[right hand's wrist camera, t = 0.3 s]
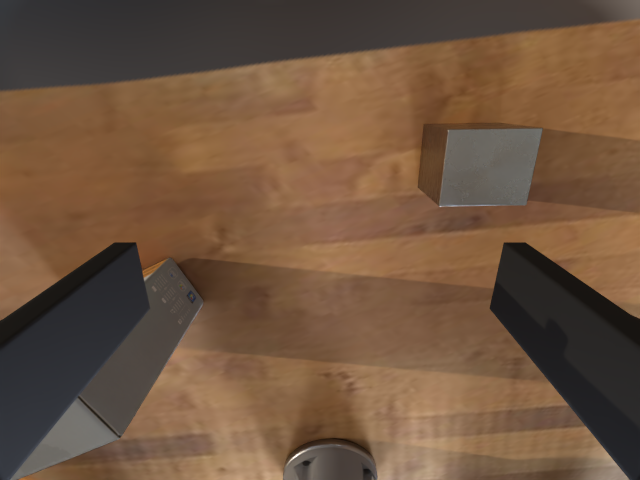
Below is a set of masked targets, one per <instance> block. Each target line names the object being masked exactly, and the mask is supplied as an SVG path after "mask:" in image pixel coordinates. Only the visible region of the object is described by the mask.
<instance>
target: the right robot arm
mask: <svg viewBox="0 0 640 480" xmlns="http://www.w3.org/2000/svg"><path fill="white" fill-rule="evenodd" d="M149 309H150V305H149V300H148V296H147V291H146V286H145V282H144V277H143V272H142V268H141V263H140V259H139V254H138V249H137V245H136V243H113V244H112V245H110V246H109V247H107V248H106V249H105V250H103V251H102V252H100V253H99V254H97V255H96V256H94V257H93V258H91V259H90V260H89V261H87V262H86V263H84V264H83V265H81V266H80V267H78V268H77V269H75V270H74V271H73V272H71V273H70V274H68V275H67V276H65V277H64V278H62V279H61V280H59V281H58V282H57V283H55V284H54V285H52V286H51V287H49V288H48V289H46V290H45V291H44V292H42V293H41V294H39V295H38V296H36V297H35V298H33V299H32V300H30V301H29V302H28V303H26V304H25V305H23V306H22V307H20V308H19V309H17V310H16V311H14V312H13V313H12V314H10V315H9V316H7V317H6V318H4V319H3V320H1V321H0V480H10V479H11V478H12V477H13V476H14V474H15V473H16V472H17V471H18V469H19V468H20V467H21V466H22V465H23V463H24V462H25V461H26V460H27V458H28V457H29V456H30V455H31V454H32V452H33V451H34V450H35V449H36V447H37V446H38V445H39V444H40V443H41V441H42V440H43V439H44V438H45V436H46V435H47V434H48V433H49V432H50V430H51V429H52V428H53V427H54V426H55V424H56V423H57V422H58V421H59V419H60V418H61V417H62V416H63V415H64V413H65V412H66V411H67V410H68V408H69V407H70V406H71V405H72V404H73V402H74V401H75V400H76V399H77V397H78V396H79V395H80V394H81V393H82V391H83V390H84V389H85V388H86V386H87V385H88V384H89V383H90V382H91V380H92V379H93V378H94V377H95V375H96V374H97V373H98V372H99V371H100V369H101V368H102V367H103V366H104V364H105V363H106V362H107V361H108V360H109V358H110V357H111V356H112V355H113V353H114V352H115V351H116V350H117V349H118V347H119V346H120V345H121V344H122V342H123V341H124V340H125V339H126V338H127V336H128V335H129V334H130V333H131V331H132V330H133V329H134V328H135V327H136V325H137V324H138V323H139V322H140V320H141V319H142V318H143V317H144V316H145V314H146V313H147V312H148V311H149ZM490 309H491V311H492V312H493V313H494V314H495V316H496V317H497V318H498V319H499V320H500V322H501V323H502V324H503V325H504V327H505V328H506V329H507V330H508V331H509V333H510V334H511V335H512V336H513V338H514V339H515V340H516V341H517V342H518V344H519V345H520V346H521V347H522V349H523V350H524V351H525V352H526V353H527V355H528V356H529V357H530V358H531V360H532V361H533V362H534V363H535V364H536V366H537V367H538V368H539V369H540V371H541V372H542V373H543V374H544V375H545V377H546V378H547V379H548V380H549V382H550V383H551V384H552V385H553V386H554V388H555V389H556V390H557V391H558V393H559V394H560V395H561V396H562V397H563V399H564V400H565V401H566V402H567V404H568V405H569V406H570V407H571V408H572V410H573V411H574V412H575V413H576V415H577V416H578V417H579V418H580V419H581V421H582V422H583V423H584V424H585V426H586V427H587V428H588V429H589V430H590V432H591V433H592V434H593V435H594V436H595V438H596V439H597V440H598V441H599V443H600V444H601V445H602V446H603V447H604V449H605V450H606V451H607V452H608V454H609V455H610V456H611V457H612V458H613V460H614V461H615V462H616V463H617V465H618V466H619V467H620V468H621V469H622V471H623V472H624V473H625V474H626V476H627V477H628V478H629V479H630V480H640V319H638V318H636V317H634V316H632V315H630V314H628V313H627V312H626V311H624V310H623V309H621V308H620V307H618V306H617V305H615V304H614V303H612V302H611V301H610V300H608V299H607V298H605V297H604V296H602V295H601V294H599V293H598V292H596V291H595V290H594V289H592V288H591V287H589V286H588V285H586V284H585V283H583V282H582V281H581V280H579V279H578V278H576V277H575V276H573V275H572V274H570V273H569V272H567V271H566V270H565V269H563V268H562V267H560V266H559V265H557V264H556V263H554V262H553V261H551V260H550V259H549V258H547V257H546V256H544V255H543V254H541V253H540V252H538V251H537V250H535V249H534V248H533V247H531V246H530V245H528V244H527V243H504V245H503V249H502V254H501V259H500V263H499V268H498V272H497V277H496V282H495V286H494V291H493V296H492V300H491V305H490ZM283 480H377V471H376V465H375V462H374V460H373V458H372V456H371V455H370V454H369V453H368V452H367V451H366V450H365V449H363V448H362V447H360V446H359V445H357V444H354V443H352V442H349V441H345V440H339V439H322V440H316V441H312V442H309V443H307V444H304V445H302V446H300V447H299V448H297V449H296V450H295V451H293V452H292V453H291V454H290V456H289V457H288V459H287V460H286V462H285V466H284V474H283Z"/></svg>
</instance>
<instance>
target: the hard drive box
mask: <svg viewBox="0 0 640 480" xmlns="http://www.w3.org/2000/svg"><path fill="white" fill-rule="evenodd" d="M142 272H143V277H144V282H145V286H146V291H147V296H148V300H149V305H150V309H149V311H148V312H147V313H146V314H145V316H144V317H143V318H142V319H141V320H140V322H139V323H138V324H137V325H136V327H135V328H134V329H133V330H132V331H131V333H130V334H129V335H128V336H127V338H126V339H125V340H124V341H123V342H122V344H121V345H120V346H119V347H118V349H117V350H116V351H115V352H114V353H113V355H112V356H111V357H110V358H109V360H108V361H107V362H106V363H105V364H104V366H103V367H102V368H101V369H100V371H99V372H98V373H97V374H96V375H95V377H94V378H93V379H92V380H91V382H90V383H89V384H88V385H87V386H86V388H85V389H84V390H83V391H82V393H81V394H80V395H79V396H78V397H77V399H76V400H75V401H74V402H73V404H72V405H71V406H70V407H69V408H68V410H67V411H66V412H65V413H64V415H63V416H62V417H61V418H60V419H59V421H58V422H57V423H56V424H55V426H54V427H53V428H52V429H51V430H50V432H49V433H48V434H47V435H46V436H45V438H44V439H43V440H42V441H41V443H40V444H39V445H38V446H37V447H36V449H35V450H34V451H33V452H32V454H31V455H30V456H29V457H28V458H27V460H26V461H25V462H24V463H23V465H22V466H21V467H20V468H19V469H18V471H17V472H16V473H15V474H14V476H13V477H12V478H11V479H10V480H18V479H21V478H23V477H25V476H28V475H30V474H33V473H35V472H38V471H41V470H43V469H46V468H48V467H51V466H53V465H56V464H58V463H61V462H63V461H66V460H68V459H71V458H73V457H76V456H78V455H81V454H84V453H86V452H89V451H91V450H94V449H96V448H99V447H101V446H103V445H106V444H108V443H111V442H113V441H116V440H118V439H120V437H121V436H122V435H123V433H124V432H125V430H126V428H127V427H128V425H129V424H130V422H131V420H132V419H133V417H134V416H135V415H136V412H137V411H138V409H139V408H140V406H141V404H142V403H143V401H144V399H145V398H146V396H147V394H148V393H149V391H150V389H151V388H152V386H153V385H154V383H155V381H156V380H157V378H158V376H159V375H160V373H161V372H162V370H163V368H164V367H165V365H166V364H167V362H168V361H169V359H170V357H171V356H172V354H173V352H174V351H175V349H176V348H177V346H178V344H179V343H180V341H181V340H182V338H183V336H184V335H185V333H186V331H187V330H188V328H189V327H190V325H191V323H192V322H193V320H194V319H195V317H196V315H197V314H198V312H199V311H200V309H201V307H202V306H203V304H204V303H203V299H202V298H201V297H200V295H199V294H198V293H197V291H196V290H195V289H194V287H193V286H192V285H191V283H190V282H189V281H188V279H187V278H186V277H185V275H184V274H183V273H182V271H181V270H180V268H179V267H178V266H177V264H176V263H175V262H174V260H173V259H172V258H168V259H166V260H163V261H161V262H159V263H157V264H155V265H153V266H151V267H149V268H147V269H145V270H143V271H142Z"/></svg>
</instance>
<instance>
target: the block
mask: <svg viewBox="0 0 640 480" xmlns="http://www.w3.org/2000/svg"><path fill="white" fill-rule="evenodd" d="M542 130H543V128H538V127H529V126H521V125H512V124H504V123H469V124H424V128H423V139H422V149H421V160H420V171H419V181H418V188H419V189H420V190H421V191H422V192H424V193H425V194H426V195H427V196H428V197H429V198H430V199H432V200H433V201H434V202H435V203H436V204H437V205H438V206H497V205H526V204H527V199H528V195H529V190H530V186H531V181H532V176H533V172H534V167H535V163H536V158H537V153H538V149H539V144H540V139H541V135H542Z"/></svg>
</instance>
